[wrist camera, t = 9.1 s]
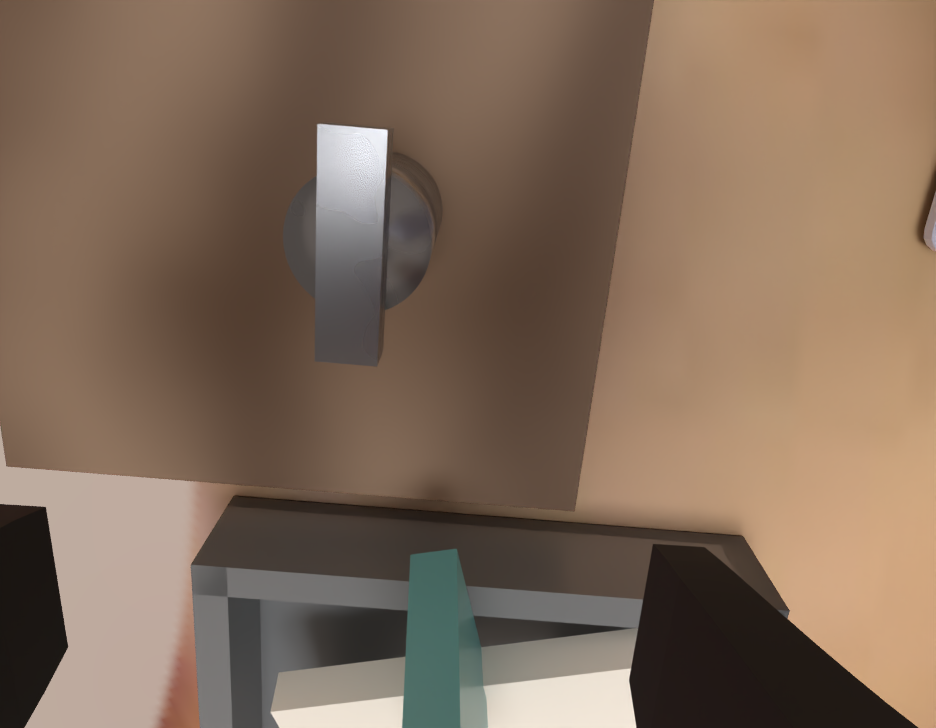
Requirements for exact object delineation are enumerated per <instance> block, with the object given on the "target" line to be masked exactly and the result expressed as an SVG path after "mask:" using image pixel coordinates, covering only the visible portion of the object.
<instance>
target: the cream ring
mask: <svg viewBox="0 0 936 728" xmlns="http://www.w3.org/2000/svg"><path fill="white" fill-rule="evenodd" d="M637 632H638V628H632V629H624V630H616V631H608V632H600V633H592V634H584V635H576V636H568V637H560V638H552V639H544V640H536V641H528V642H520V643H512V644H504V645H496V646H488V647H481V644H480V640H479V636H478V632H477V628H476V624H475V620H474V616H473V612H472V608H471V604H470V600H469V596H468V592H467V588H466V584H465V580H464V576H463V572H462V568H461V564H460V560H459V556H458V552H457V549H450V550H442V551H435V552H427V553H420V554H412V555H410V574H409V595H408V616H407V636H406V657H400V658H392V659H384V660H376V661H367V662H359V663H351V664H343V665H335V666H327V667H319V668H311V669H303V670H295V671H287V672H279V673H278V678H277V683H276V688H275V692H274V697H273V702H272V707H271V714H272V716H273V717H274V719H275V721H276V723H277V724H278V726H279V728H636V722H635V715H634V709H633V703H632V696H631V690H630V684H629V677H630V671H631V666H632V660H633V654H634V649H635V643H636V637H637Z"/></svg>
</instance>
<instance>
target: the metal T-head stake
mask: <svg viewBox="0 0 936 728" xmlns="http://www.w3.org/2000/svg"><path fill="white" fill-rule="evenodd" d="M393 133H394V128H384V127H373V126H362V125H350V124H339V123H319V124H317V176H315V177H314V178H312V179H311V180H310V181H309V182H307V183H306V184H305V185H304V186H303V187H302V188H301V189H300V190H299V191H298V193H297V194H296V196H295V197H294V198H293V200H292V202H291V204H290V206H289V208H288V211H287V214H286V217H285V221H284V226H283V246H284V251H285V256H286V259H287V262H288V265H289V267H290V269H291V271H292V273H293V275H294V276H295V278H296V279H297V281H298V282H299V284H300V285H301V286H302V287H303V288H304V290H306V291H307V292H308V293H309V294H310V295H311V296H312V297H313V298H315V362H327V363H339V364H352V365H364V366H376V367H377V366H378V363H379V361H380V358H381V355H382V353H383V348H384V326H385V310H387V309H390V308H392V307H394V306H396V305H398V304H399V303H401V302H402V301H404V300H405V299H406V298H407V297H409V296H410V295H411V294H412V293H413V292H414V290H415V289H416V288H417V287H418V285H419V284H420V282H421V281H422V279H423V277H424V275H425V273H426V271H427V268H428V265H429V262H430V259H431V255H432V252H433V249H434V245H435V242H436V239H437V235H438V232H439V229H440V225H441V221H442V199H441V195H440V192H439V189H438V186H437V184H436V182H435V181H434V179H433V177H432V176H431V175H430V173H429V172H428V171H427V170H426V169H425V168H424V167H423V166H422V165H421V164H420V163H418V162H417V161H416V160H414V159H412V158H411V157H408V156H406V155H404V154H401V153H397V152H393Z"/></svg>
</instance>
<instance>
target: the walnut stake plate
mask: <svg viewBox="0 0 936 728" xmlns="http://www.w3.org/2000/svg"><path fill="white" fill-rule="evenodd" d="M653 3H654V0H0V426H1V432H2V439H3V446H4V453H5V459H6V466H8V467H21V468H34V469H46V470H59V471H72V472H84V473H85V472H86V473H98V474H109V475H122V476H136V477H147V478H160V479H172V480H185V481H198V482H210V483H223V484H235V485H248V486H261V487H273V488H286V489H299V490H311V491H324V492H336V493H349V494H362V495H374V496H387V497H400V498H412V499H425V500H437V501H450V502H463V503H475V504H488V505H500V506H513V507H526V508H538V509H551V510H564V511H575V505H576V499H577V493H578V486H579V480H580V473H581V467H582V460H583V454H584V447H585V441H586V435H587V428H588V422H589V415H590V409H591V402H592V396H593V389H594V383H595V377H596V370H597V364H598V357H599V351H600V344H601V338H602V331H603V325H604V319H605V312H606V306H607V299H608V293H609V286H610V280H611V273H612V267H613V261H614V254H615V248H616V241H617V235H618V228H619V222H620V215H621V209H622V203H623V196H624V190H625V183H626V177H627V170H628V164H629V157H630V151H631V145H632V138H633V132H634V125H635V119H636V112H637V106H638V99H639V93H640V87H641V80H642V74H643V67H644V61H645V54H646V48H647V41H648V35H649V28H650V22H651V16H652V9H653ZM319 123H339V124H350V125H362V126H373V127H384V128H394V133H393V152H397V153H401V154H404V155H406V156H408V157H411V158H412V159H414V160H416V161H417V162H418V163H420V164H421V165H422V166H423V167H424V168H425V169H426V170H427V171H428V172H429V173H430V175H431V176H432V177H433V179H434V181H435V182H436V184H437V186H438V189H439V192H440V195H441V199H442V221H441V225H440V229H439V232H438V235H437V239H436V242H435V245H434V249H433V252H432V255H431V259H430V262H429V265H428V268H427V271H426V273H425V275H424V277H423V279H422V281H421V282H420V284H419V285H418V287H417V288H416V289H415V290H414V292H413V293H412V294H411V295H410V296H409V297H407V298H406V299H405V300H404V301H402V302H401V303H399V304H398V305H396V306H394V307H392V308H390V309H387V310H385V326H384V348H383V353H382V355H381V358H380V361H379V363H378V366H377V367H376V366H364V365H352V364H339V363H327V362H315V298H313V297H312V296H311V295H310V294H309V293H308V292H307V291H306V290H304V288H303V287H302V286H301V285H300V284H299V282H298V281H297V279H296V278H295V276H294V275H293V273H292V271H291V269H290V267H289V265H288V262H287V259H286V256H285V251H284V246H283V226H284V221H285V217H286V214H287V211H288V208H289V206H290V204H291V202H292V200H293V198H294V197H295V196H296V194H297V193H298V191H299V190H300V189H301V188H302V187H303V186H304V185H305V184H306V183H307V182H309V181H310V180H311V179H312V178H314V177H315V176H317V124H319Z"/></svg>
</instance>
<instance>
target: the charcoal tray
mask: <svg viewBox="0 0 936 728" xmlns="http://www.w3.org/2000/svg"><path fill="white" fill-rule="evenodd" d="M653 544H664V545H681V546H697V547H705V548H706V549H707V550H709V551H710V552H711V553H712V554H714V555H715V556H716V557H717V558H719V559H720V560H721V561H722V562H723V563H725V564H726V565H727V566H728V567H729V568H730V569H731V570H733V571H734V572H735V573H736V574H737V575H738V576H739V577H741V578H742V579H743V580H744V581H745V582H746V583H747V584H748V585H750V586H751V587H752V588H753V589H754V590H755V591H756V592H757V593H759V594H760V595H761V596H762V597H763V598H764V599H765V600H767V601H768V602H769V603H770V604H771V605H772V606H773V607H774V608H776V609H777V610H778V611H779V612H780V613H781V614H782V615H783V616H785V617H786V618H788V615H789V609H788V607H787V606H786V604H785V603H784V601H783V599H782V598H781V596H780V595H779V593H778V591H777V590H776V588H775V587H774V585H773V583H772V582H771V580H770V579H769V577H768V575H767V574H766V572H765V571H764V569H763V567H762V566H761V564H760V563H759V561H758V559H757V558H756V556H755V555H754V553H753V551H752V550H751V548H750V546H749V545H748V543H747V542H746V540H745V538H744V537H743V536H732V535H719V534H707V533H694V532H681V531H669V530H656V529H643V528H631V527H618V526H605V525H593V524H580V523H567V522H555V521H542V520H529V519H517V518H504V517H491V516H479V515H466V514H453V513H441V512H428V511H415V510H403V509H390V508H377V507H365V506H352V505H339V504H327V503H314V502H301V501H289V500H276V499H263V498H251V497H238V496H233V498H232V499H231V501H230V503H229V504H228V506H227V508H226V509H225V511H224V512H223V514H222V516H221V517H220V519H219V520H218V522H217V524H216V525H215V527H214V528H213V530H212V532H211V533H210V535H209V536H208V538H207V540H206V541H205V543H204V544H203V546H202V548H201V549H200V551H199V552H198V554H197V556H196V557H195V559H194V560H193V562H192V564H191V577H192V594H193V612H194V630H195V648H196V666H197V683H198V701H199V719H200V728H279V726H278V724H277V723H276V721H275V719H274V717H273V716H272V714H271V707H272V702H273V697H274V692H275V688H276V683H277V678H278V673H279V672H287V671H295V670H303V669H311V668H319V667H327V666H335V665H343V664H351V663H359V662H367V661H376V660H384V659H392V658H400V657H406V636H407V616H408V595H409V574H410V555H412V554H420V553H427V552H435V551H442V550H450V549H457V552H458V556H459V560H460V564H461V568H462V572H463V576H464V580H465V584H466V588H467V592H468V596H469V600H470V604H471V608H472V612H473V616H474V620H475V624H476V628H477V632H478V636H479V640H480V644H481V647H488V646H496V645H504V644H512V643H520V642H528V641H536V640H544V639H552V638H560V637H568V636H576V635H584V634H592V633H600V632H608V631H616V630H624V629H632V628H638V626H639V620H640V614H641V609H642V603H643V597H644V592H645V586H646V580H647V575H648V569H649V563H650V558H651V552H652V546H653Z"/></svg>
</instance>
